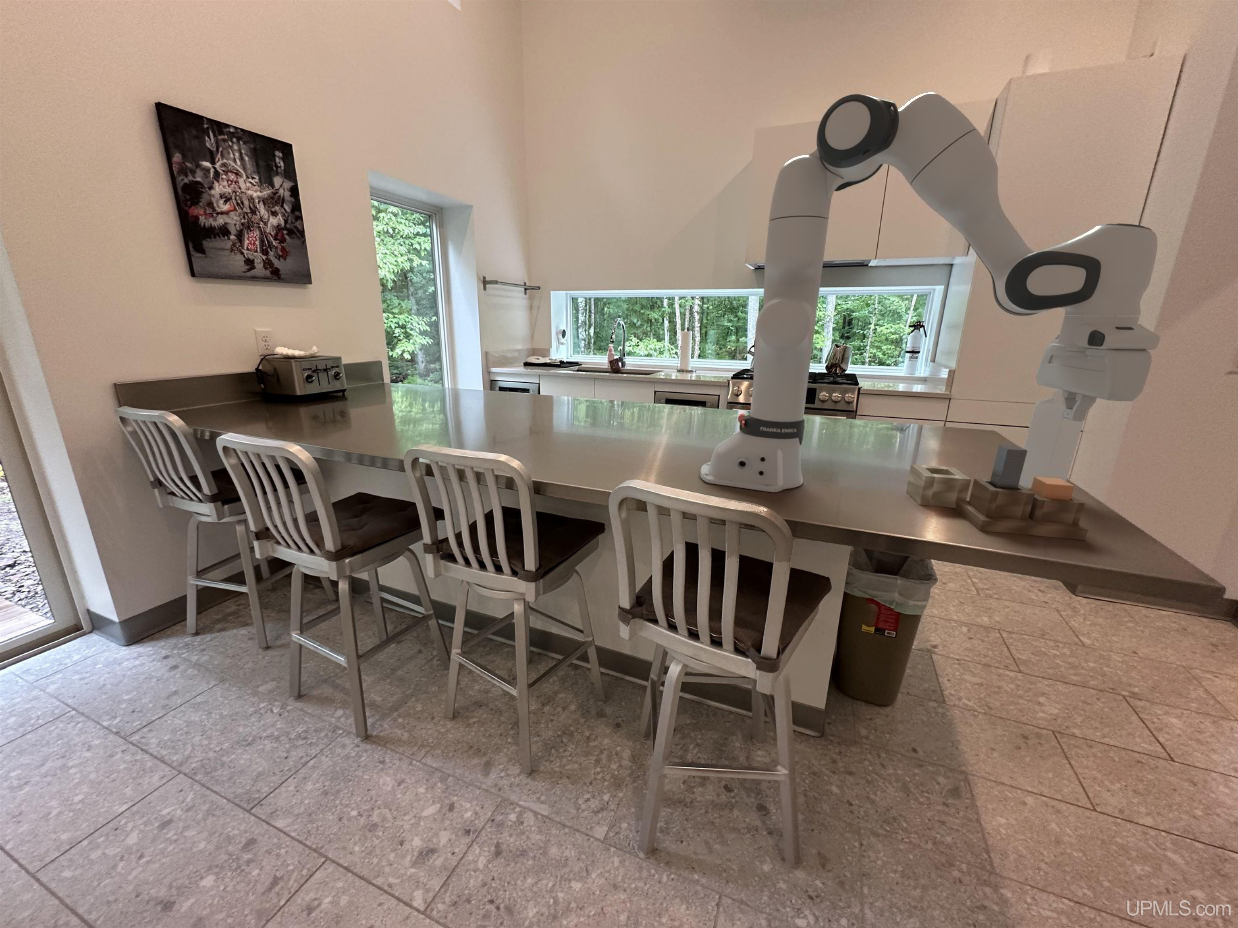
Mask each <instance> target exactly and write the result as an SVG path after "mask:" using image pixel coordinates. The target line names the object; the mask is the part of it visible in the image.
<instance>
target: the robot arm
mask: <svg viewBox="0 0 1238 928" xmlns="http://www.w3.org/2000/svg"><path fill="white" fill-rule="evenodd" d="M821 117H822V118H821V120H820V123H819V125H818V128H817V132H816V149H815V150H814V151H813V152H811V153H808V154H807V155H806V154H805V155H804V154H803V155H800V156H797V157H794V158H791V159H790V160H788V161H787V162H785V163H784V164H783V166H782V167H781V168H780V170H779V172H778V174H777V178H776V182H775V185H774V189H773V193H772V194H773V195H772V197H771V203H770V210H769V216H768V217H769V218H768V225H767V226H768V227H767V236H766V237H767V238H766V245H765V259H764V274H763V275H764V278H763V279H764V280H763V282H764V283H763V301H762V302H763V303H762V308H761V310H760V311H759V313H758V314H757V315H758V316H757V317H756V318H757V319H756V322H755V332H754V333H755V337H754V353H753V379H752V380H753V383H752V394H751V403H750V413H749V414H747V415H746V413H739V415H738V416H737V422H738V423H739V428H738V429H739V431H737V432H736V433H734V434H732V435H731V436H729V437H728V438H726V439H724V440H723V441H721V442H720V443H719V444H717V445H716V447H715V449H714V450H713V452H712V456H711V458H710V461H709V462H706V463H704V464H703V465H702V466H701V468H700V473H699V476H700V478H701V479H702V480H703V481H704V482H706V483H708V484H715V485H721V486H728V487H735V488H741V489H742V488H743V489H748V490H749V489H750V490H756V491H761V492H768V493H769V492H771V493H778V492H781V491H783V490H786V489H794V488H797V487H800V486H802V484H803V483H804V480H803V473H802V462H801V447H802V444H803V441H804V438H805V437H804V435H805V428H806V424H805V423H806V422H805V421H806V420H805V418H804V413H805V408H806V407H805V406H806V397H807V391H808V385H809V384H808V382H809V375H810V366H811V359H812V352H813V344H814V337H815V329H816V319H817V311H818V304H819V303H818V301H819V294H820V289H821V280H822V272H823V265H824V257H825V249H826V241H827V234H828V229H829V228H828V225H829V218H830V210H831V209H830V208H831V205H832V204H831V203H832V199H833V198H832V197H833V195H834V193H835V192H841V191H843V190H845V189H848V188H849V187H853V186H855V185H859V184H861V183H863V182H866V181H868V180H869V179H871V178H872V177H874V176H875V175H876V174H877V173H878V172H879V171H880V170H881V169H882V167H883V166H884V165H889V166H892V167H893V168H895V169H896V170H897V171H898V172H899V173H901V175H902V176H903V177H904V179H905V180H906V181H907V183H908V185H909V186H910V187H911V189H912V190H913V192H915V193H916V195H917V196H918V197H920V199H921V200H922V201H924V203H925V204H926V205H928V207H930V208H931V209H932V210H933V211H934V212H936V213H937V215H939V216H940V217H942V218H943V219H944V220H945V221H946V222H947V223H949V224H950V225H951V226H952V227H954V229H956V230H957V231H958V232H959V233H960V234H961V235H962V236H963V237H964V239H965V240H966V242H967V243H968V245H969V246H970V247H971V248H972V251H974V253H975V254H976V255H977V256H978V258H979V259H980V261H981V262H982V263H983V265H984V267H985V268H986V269H987V271H988V273H989V274H990V276H991V281H992V291H993V297H994V300H995V303H996V305H997V306H998V307H999V308H1000V309H1001V310H1002V311H1003V312H1005V313H1007V314H1009V315H1013V316H1019V317H1029V316H1033V315H1036V314H1037V315H1038V314H1040V313H1044V312H1048V311H1051V310H1053V309H1060V308H1061V309H1064V311H1065V312H1064V316H1063V320H1062V324H1061V327H1060V328H1061V329H1060V332H1059V333H1058V335H1057V336H1055V338H1054V339H1052V341H1051V343H1050V344H1048V346H1047V347H1046V348H1045V350H1044V353H1043V355H1042V357H1041V360H1040V363H1039V365H1038V369H1037V372H1036V376H1035V380H1036V384H1037V385H1039V386H1044V387H1047V388H1052V389H1055V390H1063V392H1062V396H1061V397H1062V403H1063V407H1064V409H1063V412H1062V417H1063V418H1066V419H1069V420H1072V421H1080V422H1082V421H1084V422H1085V419H1086V416H1087V414H1088V411H1089V410H1090V409H1092V407H1093V406H1094V404H1095V403H1096V402H1097V398H1098V399H1099V400H1100V399H1102V400H1106V401H1110V402H1111V401H1112V402H1134V401H1135V400H1136V399H1137V398H1138V397H1139V396H1140V395H1141V394H1142V393H1143V391H1144V388H1145V385H1146V382H1147V379H1148V376H1149V373H1150V370H1151V366H1152V362H1153V361H1152V358H1153V357H1152V353H1151V352H1150V351H1153V350H1156V349H1157V348H1158V347H1159V344H1160V340H1161V337H1160V335H1159V334H1157V333H1156V332H1154V331H1152V330H1150V329H1148V328H1146V326H1144V325H1142V324H1141V323H1139V320H1140V316H1141V312H1142V311H1141V301H1142V298H1143V295H1144V294H1145V292H1146V291H1147V289H1148V288H1149V286H1150V284H1151V280H1152V276H1153V272H1154V267H1155V263H1156V258H1157V254H1158V253H1157V251H1158V236H1157V233H1156V232H1155V231H1154V230H1153V229H1151V228H1150V227H1147V226H1144V225H1140V224H1134V223H1133V224H1132V223H1105V224H1100V225H1096V226H1094V227H1093V228H1092V229H1091V230H1089V231H1088V230H1087V232H1085V233H1083V234H1081V235H1079V236H1077V237H1074V238H1073V239H1071V240H1068V241H1065V242H1063V243H1060V244H1058V245H1055V246H1052V247H1048V248H1046V249H1042V250H1038V251H1034V250H1033V249H1032V248H1030V247H1029V246H1028V244H1027V243H1026V242H1025V240H1024V239H1023V237H1022V235H1020V234H1019V232H1018V231H1017V229H1016V228H1015V227H1014V225H1013V224H1012V222H1011V221H1010V219H1009V218H1008V217H1007V216H1006V213H1005V212H1004V210H1003V208H1002V206H1001V203H1000V197H999V185H998V184H999V183H998V182H999V180H998V179H999V167H998V164H997V161H996V159H995V156H994V154H993V152H992V150H991V148H990V146H989V144H988V142H987V140H986V139H985V138H984V136H983V135H982V134H981V132H980V131H979V129H977V128H976V126H975V125H974V124H973V123H972V121H971V120H970V119H969V118H968V116H966V115H965V114H964V112H962V111H961V110H960V109H958V107H957V106H955V105H954V104H953V103H951V101H949V100H948V99H946V98H945V97H943V96H942V95H940V94H939V93H935V92H928V93H927V92H926V93H923V94H920V95H918V96H915V97H914V98H912V99H911V100H909V101H908V102H907V103H906V104H905V105H903V106H902V107H900V108H898V106H897V104H896V103H895V102H894V101H890V100H886V99H882V98H877V97H875V96H870V95H867V94H862V93H854V94H848V95H845V96H843V97H841V98H839V99H838V100H836V101H835V102H833V103H832V104H831V105H830V106H829V107H828V109H827V110H826V111H825V113H824V114H823V115H822V116H821Z"/></svg>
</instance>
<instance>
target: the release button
mask: <svg viewBox="0 0 1238 928" xmlns="http://www.w3.org/2000/svg"><path fill="white" fill-rule="evenodd" d="M1074 489H1075V485H1073V484H1071V483H1069V482H1068V481H1067V480H1066V481H1064V480H1062V479H1059V478H1045V477H1034V479H1033V483H1032V487H1031V490H1030V491H1032V492H1033V493H1035V494H1036V495H1038V496H1040V497H1041V498H1048V499H1061V500H1070V499H1071V496H1072V494H1073V491H1074Z"/></svg>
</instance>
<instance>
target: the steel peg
mask: <svg viewBox="0 0 1238 928" xmlns="http://www.w3.org/2000/svg"><path fill="white" fill-rule="evenodd" d="M1027 451H1028V450H1025V449H1024V447H1020V446H1019V445H1006V444H1004V445H1003V444H1002V445H1001V444H999V445H998V448H997V451H996V455H995V460H994V464H993V467H992V472H991V476H990V479H989V480H990V485H992V486H993V487H995V488H997V489H1010V490H1017V489H1018V485H1019V481H1020V477H1021V473H1022V470H1023V466H1024V462H1025V458H1026V455H1027Z"/></svg>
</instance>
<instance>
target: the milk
mask: <svg viewBox="0 0 1238 928" xmlns="http://www.w3.org/2000/svg"><path fill="white" fill-rule="evenodd" d="M1062 392H1063V390H1060V389H1055V390H1053V393H1052V396H1051V397H1050V398H1045V399H1043V400H1041V401H1038V402H1036V403H1035V404H1034V407H1033V411H1032V415H1031V419H1030V422H1029V426H1028V430H1027V433H1026V436H1025V437H1026V439H1025V442H1024V445H1023V449H1025V450H1028V451H1027V455H1026V458H1025V462H1024V466H1023V470H1022V473H1021V477H1020V481H1019V484H1020V485H1021V486H1023V487H1028V488H1031V487H1032V483H1033V479H1034V477H1045V478H1059V479H1062V480H1064V481H1066V482H1067V480H1068V476H1069V473H1070V470H1071V466H1072V463H1073V459H1074V456H1075V453H1076V448H1077V446H1078V442H1079V438H1080V435H1081V432H1082V429H1083V428H1082V427H1083V425H1084V422H1085V420H1084V421H1082V422H1080V421H1072V420H1069V419H1066V418H1063V417H1062V412H1063V409H1064V407H1063V403H1062V397H1061V396H1062Z"/></svg>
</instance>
